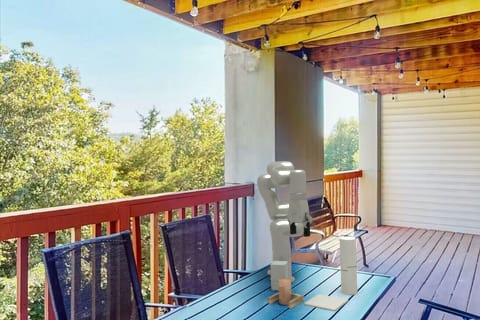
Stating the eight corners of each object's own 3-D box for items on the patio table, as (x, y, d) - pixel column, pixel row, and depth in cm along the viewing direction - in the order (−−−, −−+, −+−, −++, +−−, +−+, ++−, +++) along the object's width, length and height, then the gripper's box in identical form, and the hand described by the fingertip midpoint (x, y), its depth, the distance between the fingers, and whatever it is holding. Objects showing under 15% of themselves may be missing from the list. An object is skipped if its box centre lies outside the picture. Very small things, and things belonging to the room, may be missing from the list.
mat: (304, 304, 168) (304, 303, 168) (318, 295, 179) (318, 294, 179) (334, 311, 160) (334, 309, 160) (348, 301, 171) (348, 299, 171)
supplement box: (289, 286, 193) (288, 261, 193) (286, 291, 186) (285, 264, 186) (274, 285, 195) (273, 260, 196) (270, 290, 188) (269, 264, 189)
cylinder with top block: (275, 304, 170) (275, 280, 170) (283, 299, 175) (282, 277, 175) (286, 306, 167) (285, 282, 167) (293, 302, 172) (293, 279, 172)
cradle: (268, 303, 171) (267, 297, 171) (281, 296, 180) (281, 290, 180) (291, 308, 164) (290, 302, 164) (303, 301, 173) (303, 295, 173)
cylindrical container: (358, 295, 178) (356, 239, 178) (341, 294, 179) (339, 239, 179) (356, 290, 185) (354, 236, 185) (341, 289, 186) (339, 236, 186)
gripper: (280, 197, 184) (281, 234, 183) (304, 198, 169) (306, 238, 168) (293, 196, 188) (294, 232, 187) (317, 197, 173) (319, 236, 172)
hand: (300, 235), depth 178 cm, fingers open, 9 cm apart
